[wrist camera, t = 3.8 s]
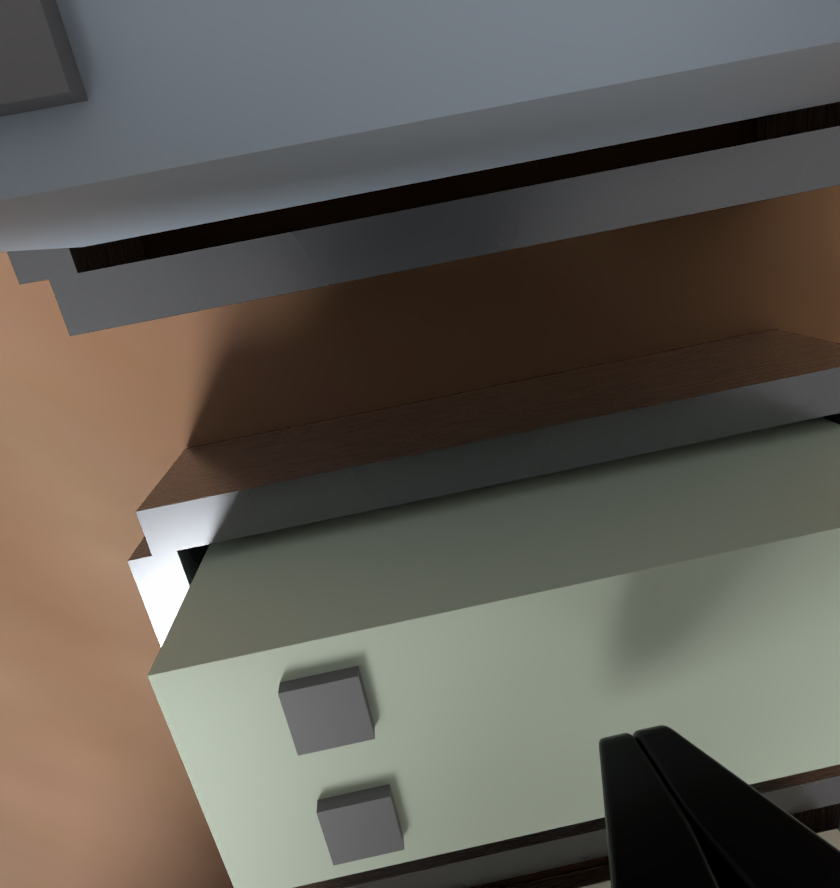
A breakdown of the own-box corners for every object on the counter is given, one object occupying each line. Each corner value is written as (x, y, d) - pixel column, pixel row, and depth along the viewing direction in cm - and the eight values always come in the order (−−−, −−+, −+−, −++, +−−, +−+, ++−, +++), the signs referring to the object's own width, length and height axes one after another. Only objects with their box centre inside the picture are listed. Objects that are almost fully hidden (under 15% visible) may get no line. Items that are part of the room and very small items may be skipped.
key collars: (335, 946, 18) (330, 1082, 15) (-20, -87, 10) (-178, -222, 7) (783, 843, 18) (862, 957, 15) (806, -232, 10) (984, -415, 7)
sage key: (282, 653, 14) (236, 913, 9) (232, 495, 13) (141, 686, 7) (750, 553, 14) (984, 744, 9) (750, 388, 13) (1024, 498, 8)
